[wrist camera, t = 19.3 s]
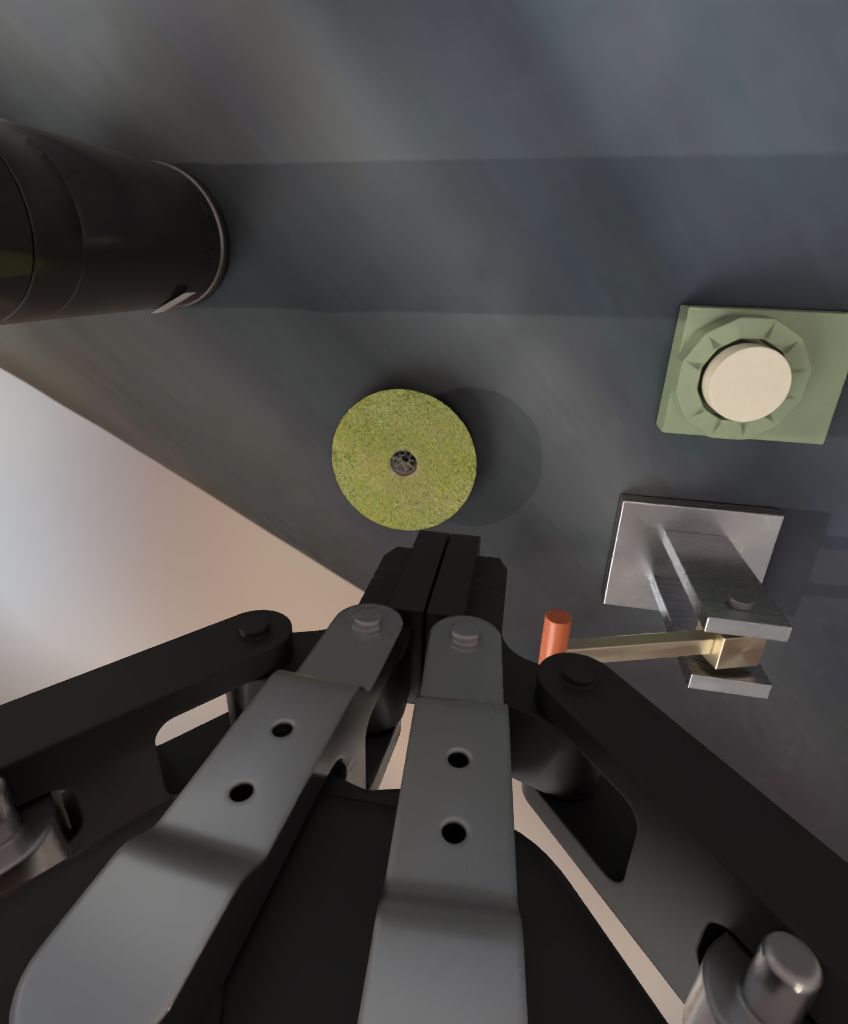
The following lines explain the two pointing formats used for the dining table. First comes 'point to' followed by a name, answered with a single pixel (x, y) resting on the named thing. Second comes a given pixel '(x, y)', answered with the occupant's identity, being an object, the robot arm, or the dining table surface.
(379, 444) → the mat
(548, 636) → the lever
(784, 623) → the bracket
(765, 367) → the button
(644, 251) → the dining table surface
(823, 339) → the control block
